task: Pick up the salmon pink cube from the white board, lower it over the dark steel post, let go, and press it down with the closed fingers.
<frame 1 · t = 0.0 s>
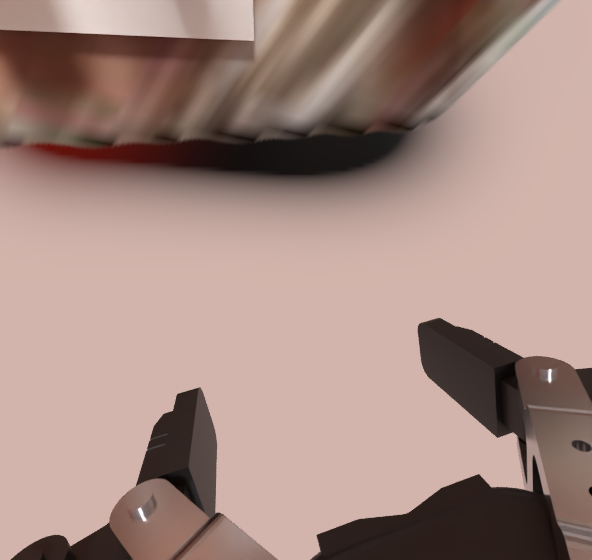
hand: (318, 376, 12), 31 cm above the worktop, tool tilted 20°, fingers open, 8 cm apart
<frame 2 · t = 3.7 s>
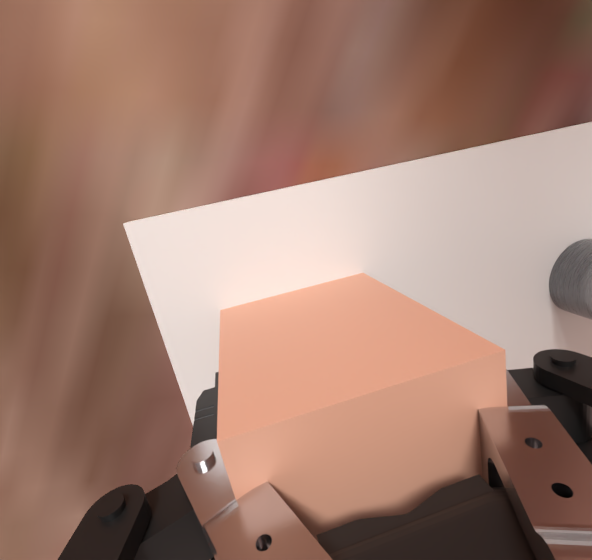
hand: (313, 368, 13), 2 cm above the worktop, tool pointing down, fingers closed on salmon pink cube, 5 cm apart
white board: (441, 300, 16), on the worktop
salmon pink cube: (308, 356, 14), point 2 cm above the worktop, touching white board, gripper
steel post: (580, 276, 15), resting on white board
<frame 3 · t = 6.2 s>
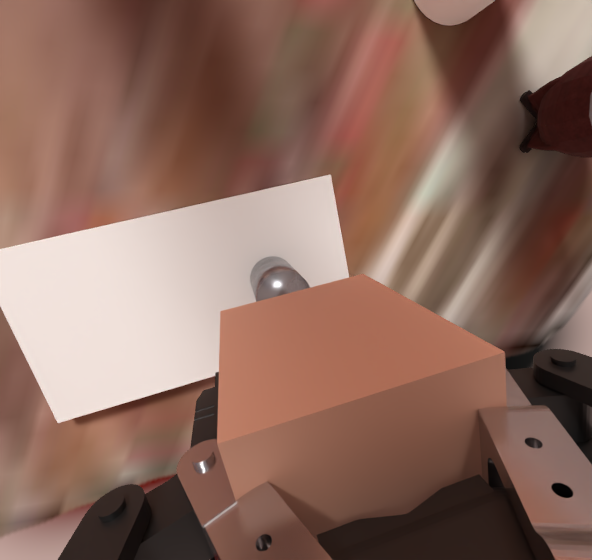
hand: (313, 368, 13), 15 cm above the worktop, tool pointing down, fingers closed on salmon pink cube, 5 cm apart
white board: (195, 293, 27), on the worktop
salmon pink cube: (308, 357, 14), point 14 cm above the worktop, touching gripper
steel post: (272, 278, 26), resting on white board
mate gourd: (542, 126, 30), on the worktop
when the fingers open (4 cm above the worktop, at t = 8.8 s): salmon pink cube drops 2 cm, resting on white board.
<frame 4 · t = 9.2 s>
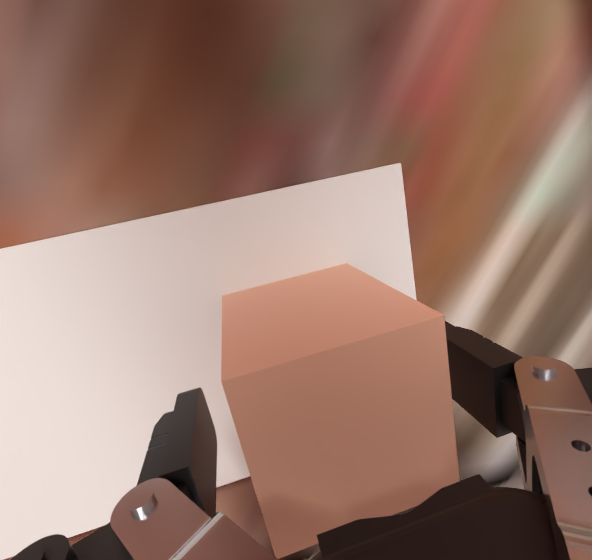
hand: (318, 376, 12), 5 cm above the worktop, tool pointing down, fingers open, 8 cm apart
white board: (168, 358, 16), on the worktop
salmon pink cube: (299, 336, 15), point 1 cm above the worktop, touching white board
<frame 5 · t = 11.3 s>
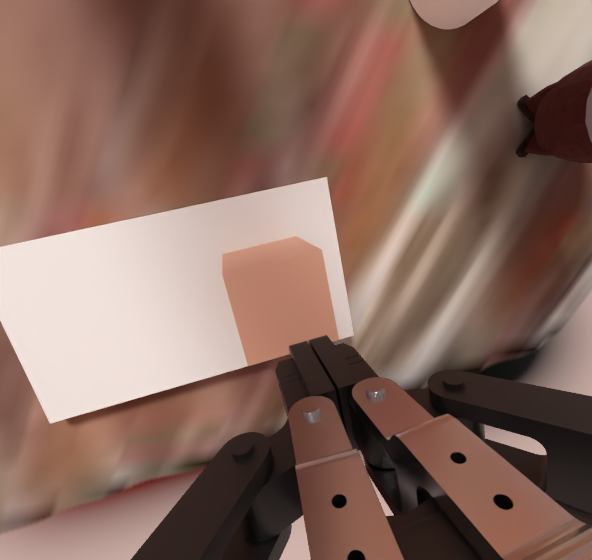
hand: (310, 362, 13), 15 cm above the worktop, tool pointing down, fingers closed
white board: (190, 294, 26), on the worktop
salmon pink cube: (268, 280, 26), point 1 cm above the worktop, touching white board
mate gourd: (539, 131, 30), on the worktop
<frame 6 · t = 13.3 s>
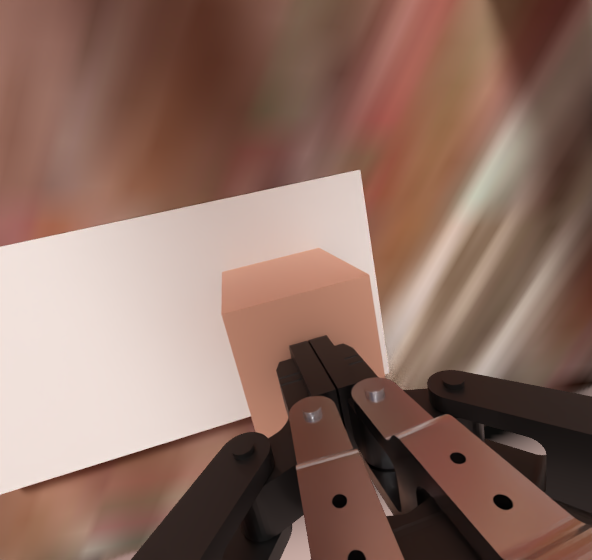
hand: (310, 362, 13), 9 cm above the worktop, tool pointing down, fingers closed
white board: (179, 323, 20), on the worktop
salmon pink cube: (282, 305, 20), point 1 cm above the worktop, touching white board, gripper
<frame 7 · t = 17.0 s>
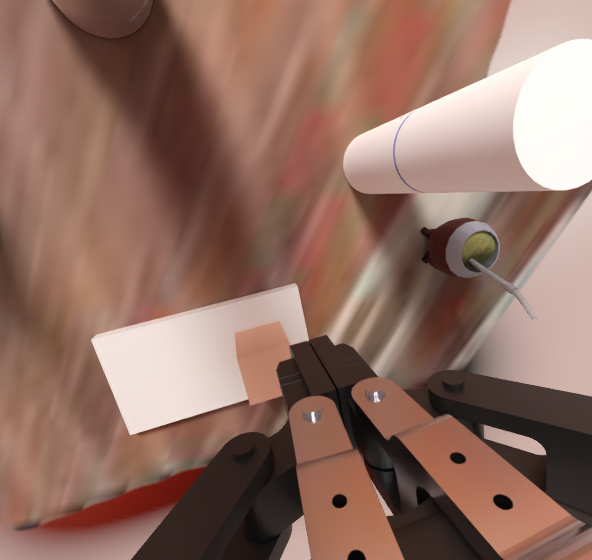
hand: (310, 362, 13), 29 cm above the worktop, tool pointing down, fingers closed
cylindrical container: (370, 163, 41), on the worktop
white board: (214, 355, 43), on the worktop
salmon pink cube: (262, 347, 42), point 1 cm above the worktop, touching white board
mate gourd: (437, 245, 46), on the worktop
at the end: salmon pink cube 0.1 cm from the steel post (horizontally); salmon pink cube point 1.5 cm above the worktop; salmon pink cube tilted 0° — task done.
